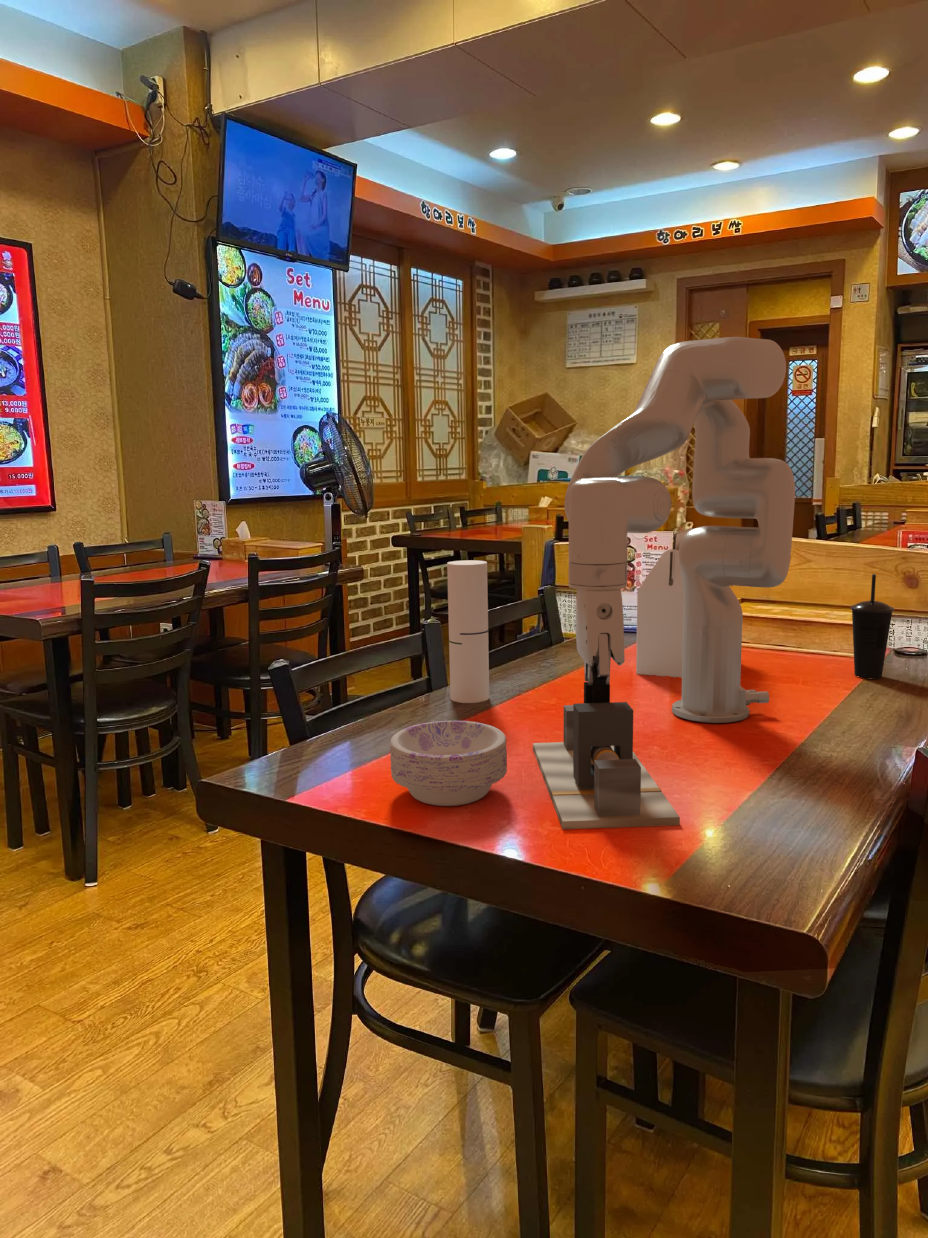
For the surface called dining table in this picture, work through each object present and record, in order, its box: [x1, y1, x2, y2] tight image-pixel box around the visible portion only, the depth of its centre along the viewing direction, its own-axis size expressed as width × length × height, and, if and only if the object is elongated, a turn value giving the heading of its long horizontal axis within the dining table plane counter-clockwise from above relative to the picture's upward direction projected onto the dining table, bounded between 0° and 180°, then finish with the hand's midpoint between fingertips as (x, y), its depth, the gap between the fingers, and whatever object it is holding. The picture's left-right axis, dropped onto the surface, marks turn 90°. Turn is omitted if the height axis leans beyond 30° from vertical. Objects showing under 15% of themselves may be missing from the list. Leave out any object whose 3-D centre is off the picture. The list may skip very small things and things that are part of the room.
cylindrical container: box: [446, 559, 490, 704], centre depth 165 cm, size 7×7×25 cm
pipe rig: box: [532, 704, 681, 830], centre depth 122 cm, size 30×14×7 cm, turn 2°
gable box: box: [635, 528, 693, 679], centre depth 187 cm, size 22×13×28 cm, turn 155°
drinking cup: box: [850, 573, 895, 679], centre depth 176 cm, size 8×8×20 cm
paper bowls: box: [389, 720, 508, 807], centre depth 119 cm, size 15×15×8 cm
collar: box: [572, 701, 634, 787], centre depth 118 cm, size 4×7×10 cm, turn 92°
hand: (596, 712), depth 121 cm, fingers closed
